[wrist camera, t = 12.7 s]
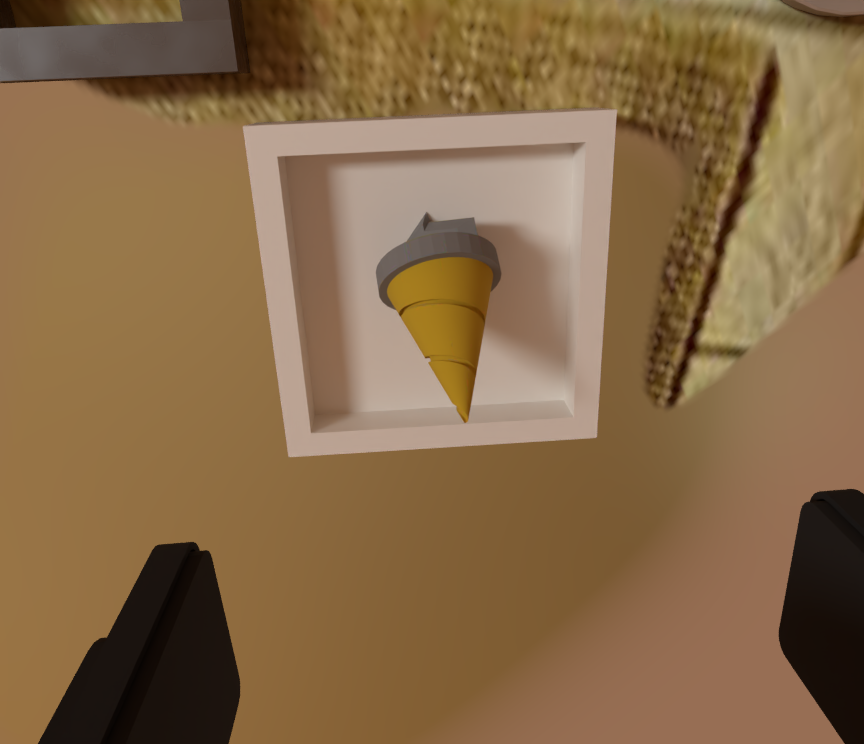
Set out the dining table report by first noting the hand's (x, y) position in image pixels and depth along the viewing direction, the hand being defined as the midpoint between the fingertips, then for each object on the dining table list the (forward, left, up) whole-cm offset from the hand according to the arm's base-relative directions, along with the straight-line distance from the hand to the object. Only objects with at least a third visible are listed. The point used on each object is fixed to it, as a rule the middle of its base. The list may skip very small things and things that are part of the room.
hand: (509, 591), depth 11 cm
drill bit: (-1, +1, -23) cm, 23 cm away
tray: (0, +1, -23) cm, 23 cm away
